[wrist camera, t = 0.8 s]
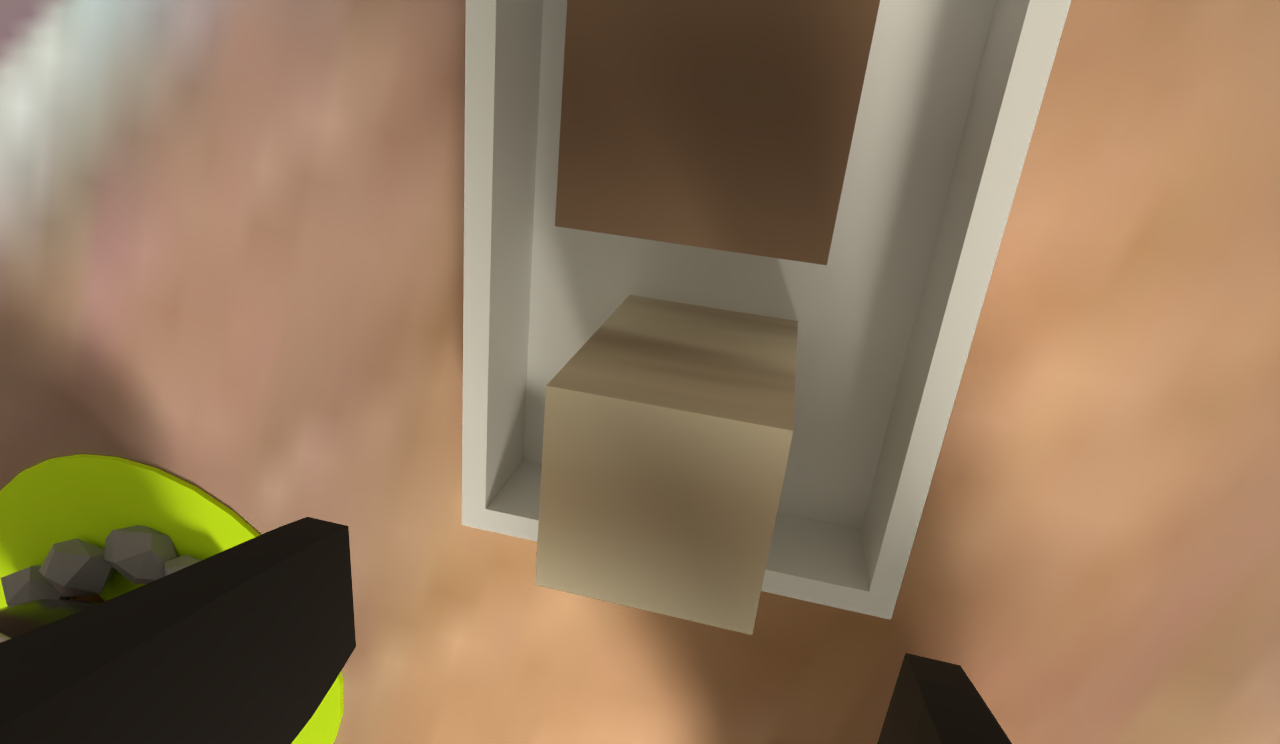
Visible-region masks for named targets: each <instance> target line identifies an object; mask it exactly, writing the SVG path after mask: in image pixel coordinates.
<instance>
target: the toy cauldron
mask: <svg viewBox="0 0 1280 744" xmlns="http://www.w3.org/2000/svg"><path fill="white" fill-rule="evenodd" d="M257 536H260V534H259V533H258V532H257V531H256V530H255V529H253V528H252V527H251V526H250V525H249V524H248V523H247V522H245V521H244V520H243V519H242V518H241V517H240V516H239V515H238V514H236V513H235V512H234V511H232V510H231V509H229V508H228V507H226V506H225V505H223V504H222V503H220V502H219V501H217V500H216V499H214V498H213V497H211V496H210V495H208V494H207V493H205V492H204V491H202V490H201V489H199V488H198V487H196V486H194V485H192V484H190V483H188V482H186V481H183V480H181V479H179V478H177V477H175V476H173V475H171V474H169V473H166V472H164V471H162V470H160V469H158V468H155V467H151V466H148V465H144V464H141V463H137V462H134V461H130V460H127V459H123V458H120V457H112V456H100V455H89V454H78V455H71V456H64V457H57V458H50V459H48V460H46V461H44V462H41V463H39V464H37V465H35V466H32V467H30V468H28V469H26V470H24V471H22V472H21V473H19V474H18V475H17V476H16V477H15V478H14V479H13V480H12V481H10V482H9V483H8V484H7V485H6V486H5V487H4V488H3V489H2V490H1V491H0V643H1V642H3V641H6V640H9V639H11V638H14V637H17V636H19V635H22V634H24V633H27V632H29V631H32V630H34V629H37V628H39V627H42V626H44V625H47V624H49V623H52V622H54V621H57V620H59V619H62V618H64V617H67V616H70V615H72V614H75V613H77V612H80V611H82V610H85V609H87V608H90V607H92V606H95V605H97V604H100V603H102V602H105V601H107V600H110V599H112V598H115V597H117V596H120V595H122V594H125V593H127V592H129V591H132V590H134V589H136V588H139V587H141V586H143V585H146V584H148V583H150V582H153V581H155V580H157V579H160V578H162V577H164V576H167V575H169V574H171V573H174V572H176V571H178V570H181V569H183V568H185V567H188V566H190V565H192V564H195V563H197V562H199V561H202V560H204V559H206V558H209V557H211V556H213V555H215V554H218V553H220V552H222V551H225V550H227V549H229V548H232V547H234V546H236V545H239V544H241V543H243V542H245V541H248V540H250V539H253V538H255V537H257ZM342 715H343V677H342V672H340V673H339V675H338V677H337V678H336V680H335V682H334V683H333V685H332V687H331V688H330V690H329V691H328V693H327V694H326V696H325V697H324V699H323V701H322V702H321V704H320V705H319V707H318V708H317V710H316V711H315V713H314V714H313V716H312V718H311V719H310V720H309V721H308V723H307V724H306V725H305V727H304V728H303V729H302V730H301V732H300V733H299V734H298V736H297V737H296V738H295V739H294V741H293V742H292V743H291V744H333V742H334V741H335V739H336V737H337V733H338V729H339V726H340V722H341V718H342Z"/></svg>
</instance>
